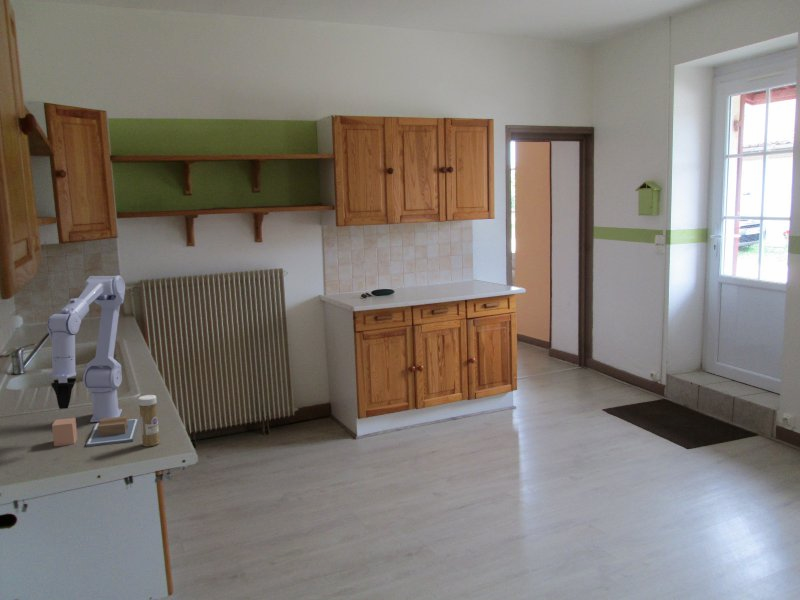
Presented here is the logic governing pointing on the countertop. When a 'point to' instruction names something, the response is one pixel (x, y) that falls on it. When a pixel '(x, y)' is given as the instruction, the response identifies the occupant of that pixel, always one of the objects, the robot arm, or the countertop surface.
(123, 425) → the walnut base block
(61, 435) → the terracotta block
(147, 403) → the sprinkles bottle
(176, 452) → the countertop surface
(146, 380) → the countertop surface
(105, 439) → the board
